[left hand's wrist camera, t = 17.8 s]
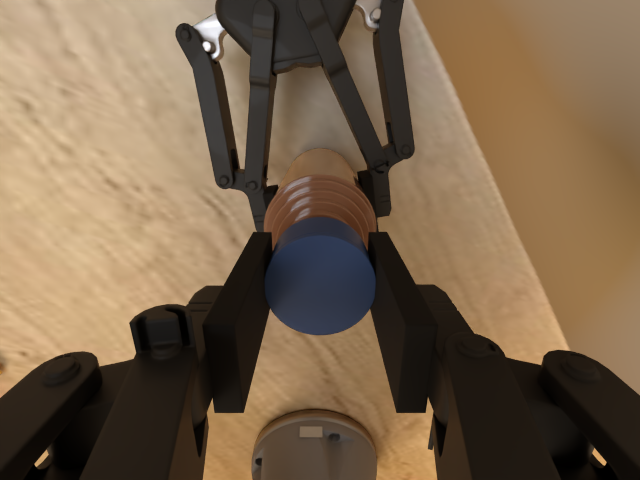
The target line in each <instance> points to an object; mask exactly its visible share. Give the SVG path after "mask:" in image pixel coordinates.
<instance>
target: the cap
mask: <svg viewBox="0 0 640 480" xmlns="http://www.w3.org/2000/svg"><path fill="white" fill-rule="evenodd" d="M264 281H265V296H266V300H267V303H268V305H269V307H270V308H271V310H272V312H273V313H274V314H275V316H276V317H277V318H278V319H279V320H280V321H282V322H283V323H284V324H285V325H287V326H289V327H290V328H292V329H294V330H296V331H299V332H302V333H306V334H311V335H329V334H334V333H338V332H341V331H344V330H346V329H348V328H350V327H352V326H353V325H355V324H356V323H358V322H359V321H360V320H361V319H362V318H363V317H364V316H365V315H366V313H367V312H368V311H369V309H370V307H371V305H372V304H373V301H374V298H375V285H376V276H375V272H374V269H373V266H372V263H371V260H370V257H369V254H368V251H367V248H366V246H365V243H364V242H363V240H362V238H361V237H360V235H359V234H358V233H357V232H356V231H355V230H354V229H353V228H352V227H350V226H349V225H347V224H345V223H344V222H342V221H339V220H337V219H333V218H328V217H313V218H308V219H304V220H301V221H299V222H297V223H295V224H293V225H291V226H290V227H289V228H288V229H286V230H285V231H284V232H283V233H282V235H281V236H280V237H279V239H278V240H277V242H276V244H275V247H274V249H273V252H272V255H271V258H270V261H269V264H268V267H267V270H266V273H265V278H264Z"/></svg>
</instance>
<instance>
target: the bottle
mask: <svg viewBox="0 0 640 480" xmlns="http://www.w3.org/2000/svg"><path fill="white" fill-rule="evenodd" d="M313 217H328V218H333V219H337V220H339V221H342V222H344V223H345V224H347V225H349V226H350V227H352V228H353V229H354V230H355V231H356V232H357V233H358V234H359V235H360V237H361V238H362V240H363V242H364V243H365V246H366V248H367V251H368V232H376V218H375V213H374V211H373V208H372V206H371V204H370V202H369V200H368V198H367V196H366V195H365V193H364V191H363V189H362V187H361V186H360V184H359V182H358V180H357V178H356V177H355V175H354V173H353V171H352V169H351V168H350V166H349V164H348V163H347V161H346V160H345V159H344V158H343V157H342V156H341V155H340V154H338V153H336V152H334V151H332V150H329V149H324V148H316V149H311V150H308V151H306V152H304V153H302V154H301V155H299V156H298V157H297V158H296V159H295V160H294V161H293V163H292V164H291V166H290V168H289V170H288V172H287V173H286V175H285V177H284V179H283V181H282V182H281V184H280V186H279V188H278V190H277V192H276V193H275V195H274V197H273V199H272V201H271V202H270V204H269V206H268V209H267V211H266V215H265V219H264V232H272V247H273V249H274V247H275V244H276V242H277V240H278V239H279V237H280V236H281V235H282V233H283V232H284V231H285V230H286V229H288V228H289V227H290V226H291V225H293V224H295V223H297V222H299V221H301V220H304V219H308V218H313Z"/></svg>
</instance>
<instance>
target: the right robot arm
mask: <svg viewBox="0 0 640 480" xmlns="http://www.w3.org/2000/svg"><path fill="white" fill-rule="evenodd" d="M403 3H404V0H216V5H215V12H216V13H214V14H213V15H211V16H209V17H207V18H206V19H204V20H202V21H201V22H199V23H197V24H196V25H194V26H191V25H189V24H186V23H183V24H180V25H179V26H178V27H177V29H176V38H177V41H178V42H179V44H180V46H181V48H182V50H183V52H184V53H185V55H186V57H187V59H188V61H189V63H190V65H191V66H192V68H193V73H194V77H195V82H196V87H197V92H198V97H199V102H200V107H201V112H202V117H203V122H204V127H205V132H206V137H207V142H208V146H209V151H210V156H211V161H212V166H213V171H214V176H215V181H216V184H217V185H218V186H219V187H220V188H222V189H228V188H231V189H236V190H241V191H243V192H244V193H245V194H246V195H247V196H248V199H249V203H250V207H251V211H252V215H253V219H254V223H255V227H256V230H257V232H264V219H265V215H266V211H267V209H268V206H269V204H270V202H271V201H272V199H273V197H274V195H275V193H276V192H277V190H278V185H273V186H268V187H267V184H266V182H267V180H268V178H267V170H268V159H269V148H270V138H271V127H272V116H273V105H274V94H275V89H276V82H277V74H280V73H285V72H288V71H290V70H292V69H294V68H296V67H308V68H312V67H318V66H322V68H323V71H324V73H325V75H326V77H327V79H328V81H329V83H330V85H331V87H332V89H333V91H334V94H335V96H336V98H337V100H338V102H339V105H340V107H341V109H342V111H343V113H344V115H345V118H346V120H347V122H348V124H349V126H350V129H351V131H352V133H353V135H354V137H355V140H356V142H357V144H358V146H359V148H360V151H361V153H362V155H363V157H364V159H365V162H366V164H367V170H364V171H357V175H358V182H359V184H360V186H361V187H362V189H363V191H364V193H365V195H366V196H367V198H368V200H369V202H370V204H371V206H372V208H373V211H374V213H375V218H376V232H379V231H378V222H377V217H383V216H389V214H390V211H391V201H390V190H389V179H388V173H389V170H390V168H391V167H392V166H393V165H394V164H396V163H398V162H400V161H401V160H403V159H408V158H410V157H411V156H412V155H413V153H414V150H415V147H414V139H413V132H412V125H411V117H410V110H409V102H408V95H407V87H406V80H405V73H404V65H403V58H402V50H401V43H400V35H399V26H400V20H401V14H402V8H403ZM353 9H356V10H358V11H359V12H360V13H361V14H362V16H363V23H364V27H365V28H366V29H367V30H368V31H370V32H373V48H374V55H375V62H376V68H377V74H378V80H379V87H380V93H381V99H382V105H383V112H384V118H385V124H386V130H387V137H388V143H389V144H387V145H385V146H383V147H382V146H381V144H380V141H379V139H378V137H377V135H376V132H375V130H374V128H373V125H372V123H371V121H370V118H369V116H368V114H367V111H366V109H365V107H364V105H363V102H362V100H361V98H360V95H359V93H358V91H357V88H356V86H355V84H354V81H353V79H352V77H351V75H350V72H349V70H348V67H347V64H346V61H345V58H344V56H343V54H342V51H341V49H340V47H339V44H338V42H339V40H340V38H341V36H342V33H343V31H344V29H345V27H346V25H347V22H348V20H349V18H350V16H351V14H352V11H353ZM227 33H228V34H229V35H230V36H231V37H232V38H233V39H234V40H235V41H236V42H237V43H238V44H239V45H240V46H241V47H242V48H243V49H244V50H245V52H246V53H247V54H248V55H249V56H250V57H251V60H250V75H249V80H250V99H249V114H248V128H247V143H246V158H245V170H244V169H240V166H239V160H238V154H237V149H236V143H235V137H234V131H233V126H232V120H231V114H230V109H229V103H228V97H227V91H226V86H225V80H224V75H223V71H222V68H221V65H220V63H219V60H220V59H222V57H223V55H224V48H223V38H224V36H225V35H226V34H227Z"/></svg>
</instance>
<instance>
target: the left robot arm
mask: <svg viewBox="0 0 640 480" xmlns="http://www.w3.org/2000/svg"><path fill="white" fill-rule="evenodd" d="M272 252H273V247H272V232H253V234H252V236H251V237H250V239H249V241H248V243H247V245H246V246H245V248H244V250H243V252H242V254H241V255H240V257H239V259H238V261H237V263H236V264H235V266H234V268H233V270H232V272H231V273H230V275H229V277H228V279H227V281H226V282H225V284H224V286H205V287H204V288H202V289H201V290H199V291H198V292H196V293H195V294H194V295H193V297H192V298H191V300H190V301H189V304H187V306H182V305H178V304H166V305H161V306H156V307H153V308H150V309H148V310H145V311H143V312H141V313H140V314H138V315H137V316H135V317H134V318H133V319H132V320H131V322H130V323H129V324H130V328H131V332H132V336H133V341H134V345H135V349H136V355H135V357H134V359H132V360H128V361H124V362H119V363H115V364H110V365H105V366H100V367H99V363H98V360H97V357H96V356H95V355H93V354H92V353H89V352H83V351H82V352H72V353H67V354H64V355H60V356H57V357H55V358H53V359H51V360H49V361H46V362H44V363H43V364H41V365H40V366H38V367H37V368H35V369H34V370H32V371H31V372H30V373H29V374H28V375H27V376H25V377H24V378H23V379H22V380H21V381H20V382H18V383H17V384H16V385H15V386H14V387H13V388H11V389H10V390H9V391H8V392H7V393H6V394H4V395H3V396H2V397H1V398H0V480H203V472H204V464H205V455H206V446H207V438H208V429H209V426H208V418H207V410H208V408H209V405H210V403H211V400H212V398H213V404H214V411H215V413H244V409H245V405H246V401H247V398H248V394H249V390H250V386H251V382H252V378H253V374H254V370H255V366H256V362H257V358H258V354H259V350H260V346H261V342H262V338H263V335H264V331H265V327H266V323H267V319H268V315H269V311H270V307H269V305H268V303H267V300H266V296H265V281H264V278H265V273H266V270H267V267H268V264H269V261H270V258H271V255H272ZM368 254H369V257H370V260H371V263H372V266H373V269H374V272H375V276H376V285H375V298H374V301H373V304H372V305H371V307H370V310H371V314H372V318H373V322H374V326H375V330H376V334H377V338H378V342H379V346H380V349H381V353H382V357H383V361H384V365H385V369H386V373H387V377H388V381H389V385H390V389H391V393H392V397H393V401H394V405H395V408H396V412H397V413H426V406H427V399H428V398H429V400H430V403H431V405H432V408H433V411H434V412H433V418H432V425H431V431H430V438H429V444H428V449H430V450H433V446H434V454H435V463H436V471H437V480H640V395H639V394H637V393H636V392H635V391H634V390H633V389H632V388H630V387H629V386H628V385H627V384H626V383H624V382H623V381H622V380H621V379H620V378H619V377H617V376H616V375H615V374H614V373H613V372H612V371H610V370H609V369H608V368H606V367H605V366H603V365H602V364H600V363H599V362H598V361H596V360H593V359H591V358H589V357H587V356H585V355H583V354H580V353H576V352H572V351H564V350H555V351H549V352H548V353H547V354H546V355H544V357H543V361H542V364H541V365H538V364H533V363H528V362H523V361H519V360H514V359H511V358H507V357H505V354H504V352H503V351H502V350H501V348H500V347H499V346H498V345H497V344H496V343H494V342H493V341H491V340H490V339H488V338H486V337H483V336H481V335H478V334H474V333H473V331H472V330H471V328H470V327H469V325H468V324H467V323H466V321H465V320H464V318H463V317H462V315H461V314H460V312H459V311H457V308H456V307H455V305H454V304H453V303H452V301H451V300H450V298H449V297H448V295H447V294H446V292H444V291H443V290H441V289H440V288H438V287H437V286H435V285H416V284H415V282H414V280H413V278H412V276H411V275H410V273H409V271H408V269H407V268H406V266H405V264H404V262H403V260H402V259H401V257H400V255H399V253H398V251H397V250H396V248H395V246H394V244H393V242H392V241H391V239H390V237H389V235H388V233H387V232H368ZM594 448H595V449H596V450H597V451H598V452H599V454H600V455H601V456H602V457H603V458H604V459H605V461H606V462H607V463H606V465H605V466H604V465H602V464H601V463H600V462H599V461H598V460H597V459H596V458H595V456H594V455H593V454H592V452H593V450H594ZM46 449H47V451H48V454H49V455H48V456H47V457H46V459H45V460H44V461H43V462H42V463H41V464H40V465H39V466H37V467H36V466H35V465H34V463H35V462H36V461H37V460H38V459H39V458H40V456H41V455H42V454H43V453H44V452H45V451H46ZM376 475H377V459H376V452H375V447H374V443H373V441H372V438H371V437H370V435H369V433H368V432H367V431H366V430H365V429H364V428H363V427H362V426H361V425H360V424H358V423H357V422H356V421H354V420H352V419H351V418H349V417H346V416H344V415H341V414H338V413H335V412H331V411H325V410H304V411H298V412H293V413H290V414H287V415H284V416H282V417H280V418H278V419H276V420H274V421H273V422H271V423H270V424H269V425H268V426H266V427H265V428H264V429H263V431H262V432H261V433H260V435H259V436H258V438H257V440H256V443H255V446H254V451H253V457H252V479H253V480H376Z"/></svg>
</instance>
